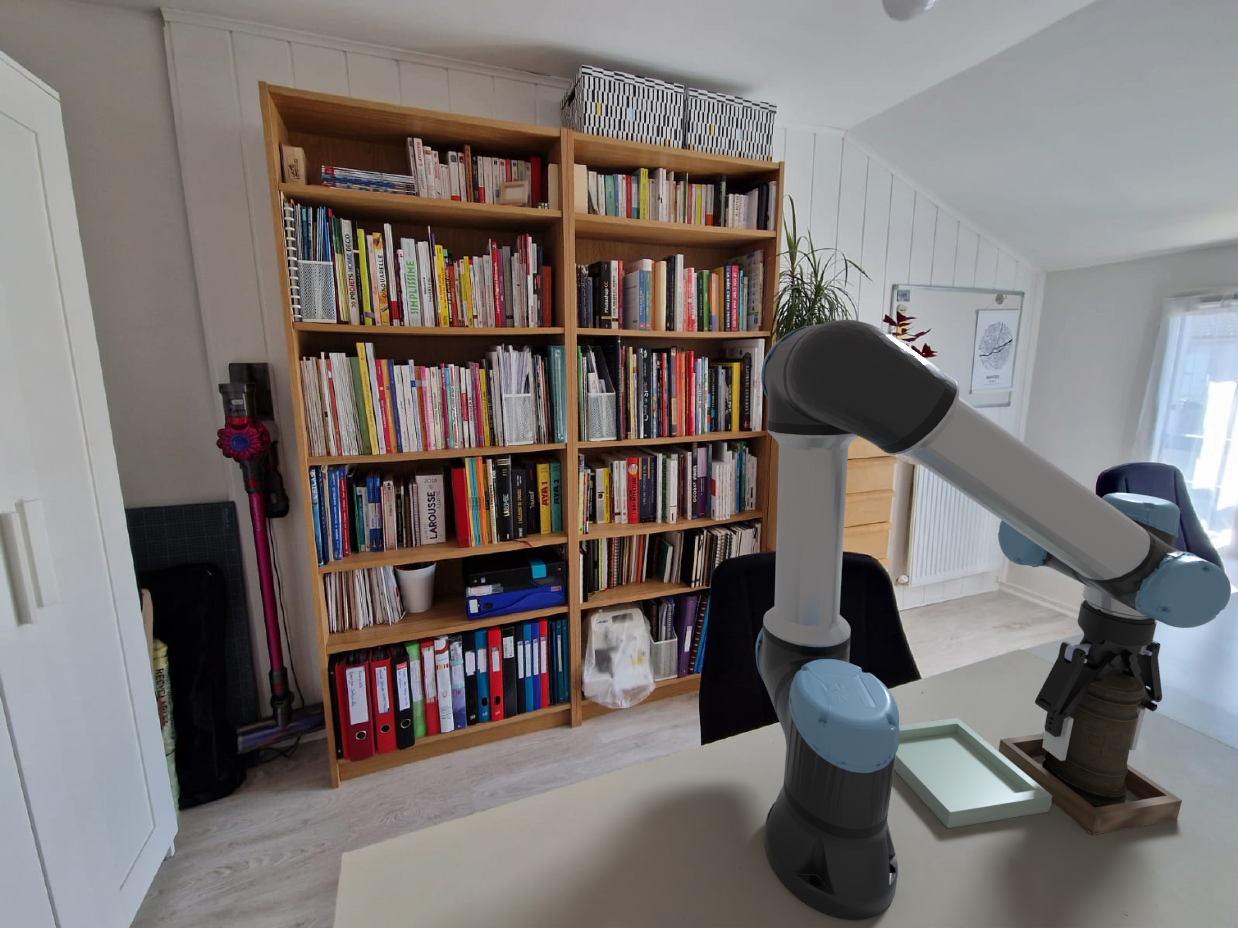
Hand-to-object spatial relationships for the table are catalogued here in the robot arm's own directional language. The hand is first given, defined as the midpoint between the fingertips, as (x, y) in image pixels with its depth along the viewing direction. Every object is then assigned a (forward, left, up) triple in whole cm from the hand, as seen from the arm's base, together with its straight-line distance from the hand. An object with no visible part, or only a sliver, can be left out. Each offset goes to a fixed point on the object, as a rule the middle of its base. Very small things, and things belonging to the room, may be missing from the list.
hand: (1088, 748), depth 75 cm
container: (0, 0, -6) cm, 6 cm away
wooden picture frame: (0, 0, -6) cm, 6 cm away
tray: (-17, +5, -6) cm, 19 cm away
